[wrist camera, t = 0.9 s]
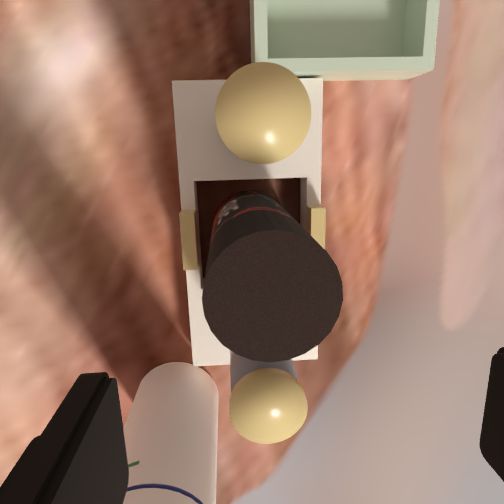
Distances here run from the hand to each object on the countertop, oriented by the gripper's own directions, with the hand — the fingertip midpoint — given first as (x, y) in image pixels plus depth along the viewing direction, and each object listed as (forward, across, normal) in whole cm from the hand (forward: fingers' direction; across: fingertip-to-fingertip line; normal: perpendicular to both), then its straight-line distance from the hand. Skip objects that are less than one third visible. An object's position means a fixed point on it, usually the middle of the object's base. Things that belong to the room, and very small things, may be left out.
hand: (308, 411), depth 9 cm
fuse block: (+22, 0, 0) cm, 22 cm away
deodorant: (+22, 0, 0) cm, 22 cm away
